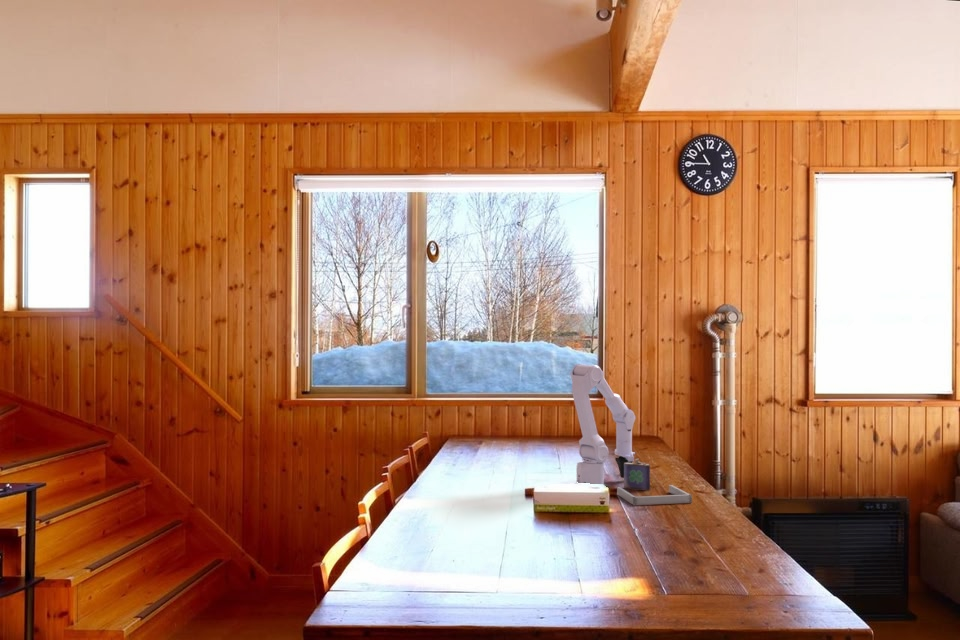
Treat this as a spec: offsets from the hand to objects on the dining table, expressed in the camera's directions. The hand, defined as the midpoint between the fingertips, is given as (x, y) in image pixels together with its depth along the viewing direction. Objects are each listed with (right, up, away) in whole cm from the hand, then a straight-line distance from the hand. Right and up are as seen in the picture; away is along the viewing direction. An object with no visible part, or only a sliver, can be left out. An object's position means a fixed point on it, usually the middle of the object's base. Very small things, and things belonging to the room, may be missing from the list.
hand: (624, 477), depth 274 cm
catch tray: (+5, -1, -26) cm, 27 cm away
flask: (+2, -2, -12) cm, 13 cm away
